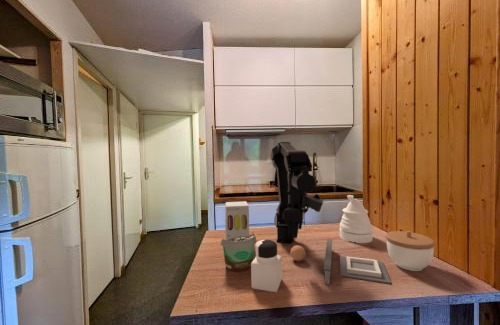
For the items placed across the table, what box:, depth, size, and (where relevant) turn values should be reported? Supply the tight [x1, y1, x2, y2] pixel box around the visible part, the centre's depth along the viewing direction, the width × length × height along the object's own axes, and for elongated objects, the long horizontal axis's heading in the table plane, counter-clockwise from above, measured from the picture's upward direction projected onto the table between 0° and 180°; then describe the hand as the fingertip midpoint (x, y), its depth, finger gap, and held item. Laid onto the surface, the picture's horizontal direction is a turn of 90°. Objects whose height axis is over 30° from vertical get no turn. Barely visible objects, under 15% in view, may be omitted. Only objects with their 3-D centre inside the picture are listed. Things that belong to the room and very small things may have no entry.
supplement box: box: [224, 200, 250, 240], centre depth 95 cm, size 10×9×17 cm
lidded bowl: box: [385, 230, 435, 272], centre depth 73 cm, size 13×13×11 cm
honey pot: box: [339, 194, 373, 244], centre depth 99 cm, size 13×13×18 cm
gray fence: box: [323, 238, 333, 286], centre depth 75 cm, size 2×24×4 cm, turn 159°
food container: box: [220, 232, 258, 273], centre depth 74 cm, size 12×6×10 cm, turn 117°
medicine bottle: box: [250, 239, 283, 293], centre depth 65 cm, size 7×7×12 cm
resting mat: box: [339, 255, 392, 285], centre depth 72 cm, size 13×13×2 cm
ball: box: [290, 245, 306, 262], centre depth 79 cm, size 5×5×5 cm
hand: (297, 233), depth 79 cm, fingers open, 9 cm apart
